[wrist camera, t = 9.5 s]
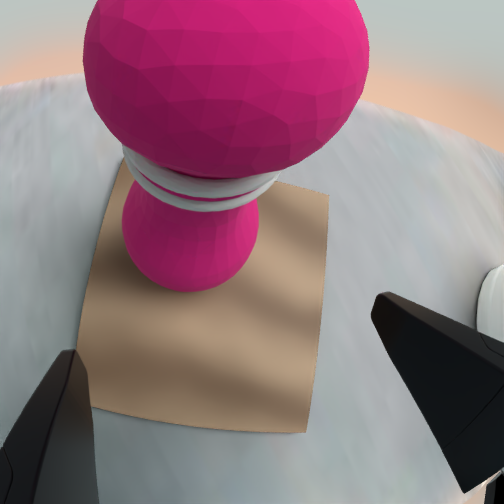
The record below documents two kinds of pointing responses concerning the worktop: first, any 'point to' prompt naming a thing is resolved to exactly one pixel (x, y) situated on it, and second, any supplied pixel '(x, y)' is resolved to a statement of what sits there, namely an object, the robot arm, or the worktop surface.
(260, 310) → the tan cloth
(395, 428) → the worktop surface
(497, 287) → the bottle
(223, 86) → the pepper mill
